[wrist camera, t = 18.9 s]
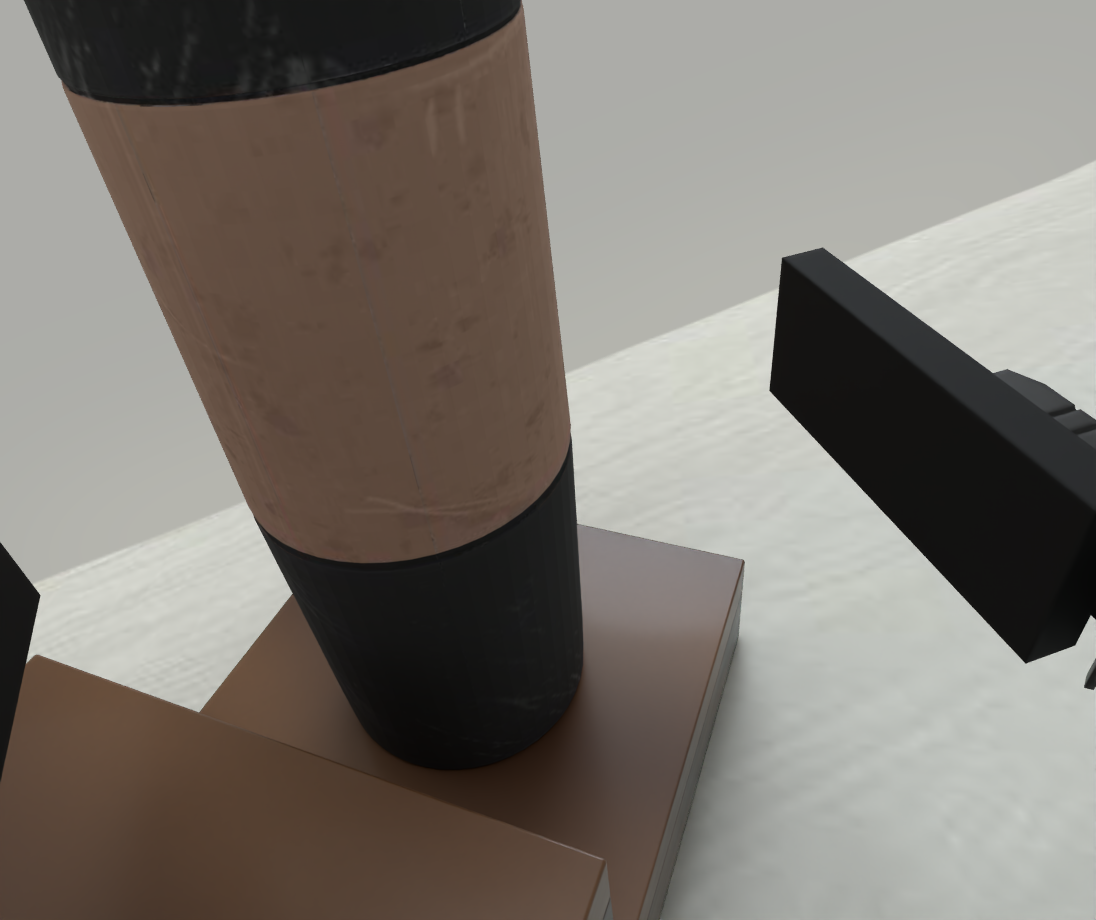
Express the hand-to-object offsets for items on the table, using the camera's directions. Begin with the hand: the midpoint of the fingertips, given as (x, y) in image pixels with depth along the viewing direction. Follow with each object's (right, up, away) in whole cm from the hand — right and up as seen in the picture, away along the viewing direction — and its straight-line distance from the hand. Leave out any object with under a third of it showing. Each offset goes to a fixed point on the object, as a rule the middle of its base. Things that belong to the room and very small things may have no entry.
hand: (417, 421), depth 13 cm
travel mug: (0, -7, +12) cm, 14 cm away
